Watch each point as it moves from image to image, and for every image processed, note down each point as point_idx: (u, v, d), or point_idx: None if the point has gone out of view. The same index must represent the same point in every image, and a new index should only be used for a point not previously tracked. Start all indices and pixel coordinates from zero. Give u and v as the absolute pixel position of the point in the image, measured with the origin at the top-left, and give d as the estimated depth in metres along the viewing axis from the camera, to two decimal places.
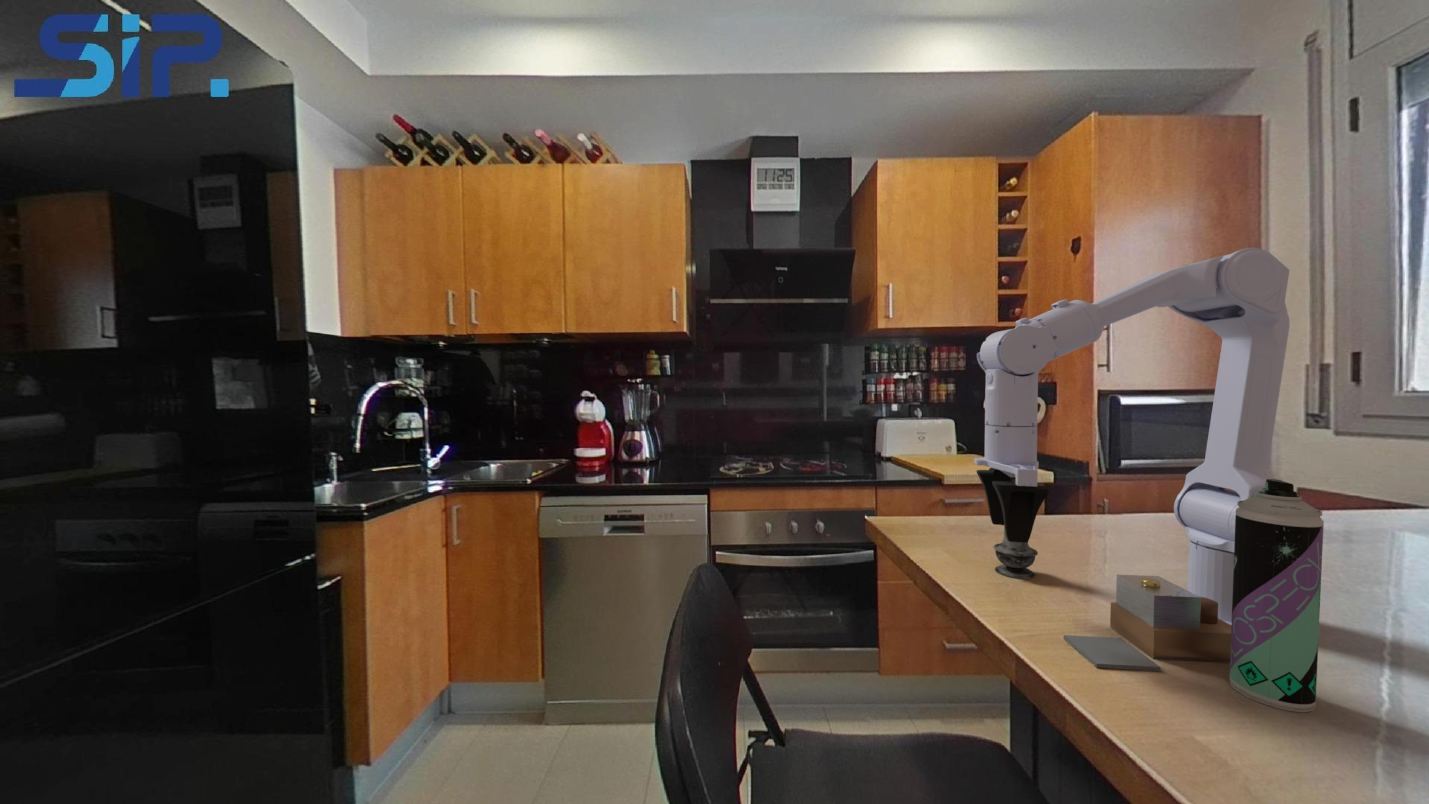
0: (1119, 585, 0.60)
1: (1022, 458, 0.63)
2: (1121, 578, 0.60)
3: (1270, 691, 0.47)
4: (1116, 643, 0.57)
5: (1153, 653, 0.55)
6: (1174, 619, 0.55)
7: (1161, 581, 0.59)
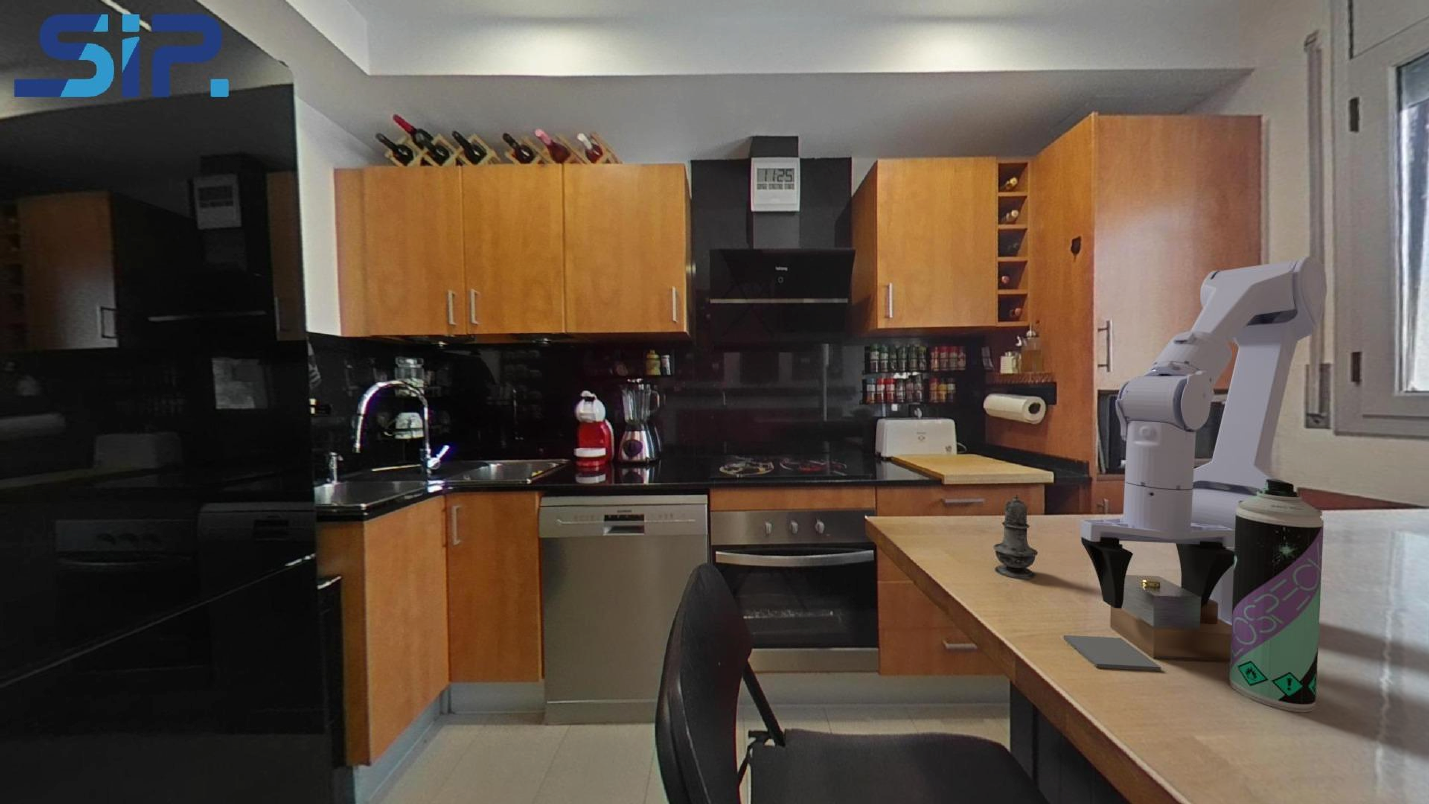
0: None
1: (1133, 519, 0.57)
2: None
3: (1270, 691, 0.47)
4: (1116, 643, 0.57)
5: (1153, 653, 0.55)
6: (1174, 619, 0.55)
7: (1161, 581, 0.59)
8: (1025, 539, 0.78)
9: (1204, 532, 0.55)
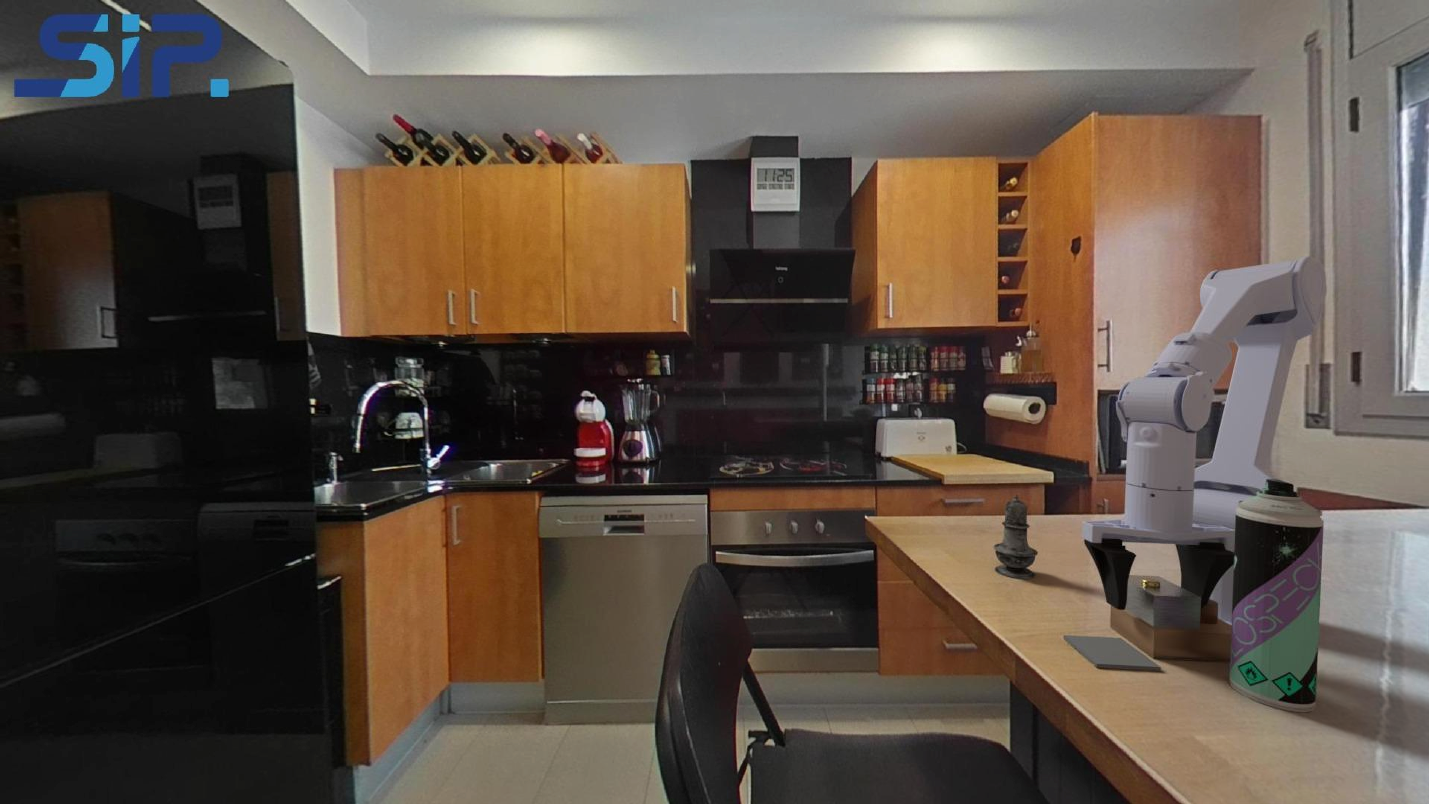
0: None
1: (1134, 520, 0.57)
2: None
3: (1270, 691, 0.47)
4: (1116, 643, 0.57)
5: (1153, 653, 0.55)
6: (1174, 619, 0.55)
7: (1161, 581, 0.59)
8: (1025, 539, 0.78)
9: (1205, 533, 0.55)
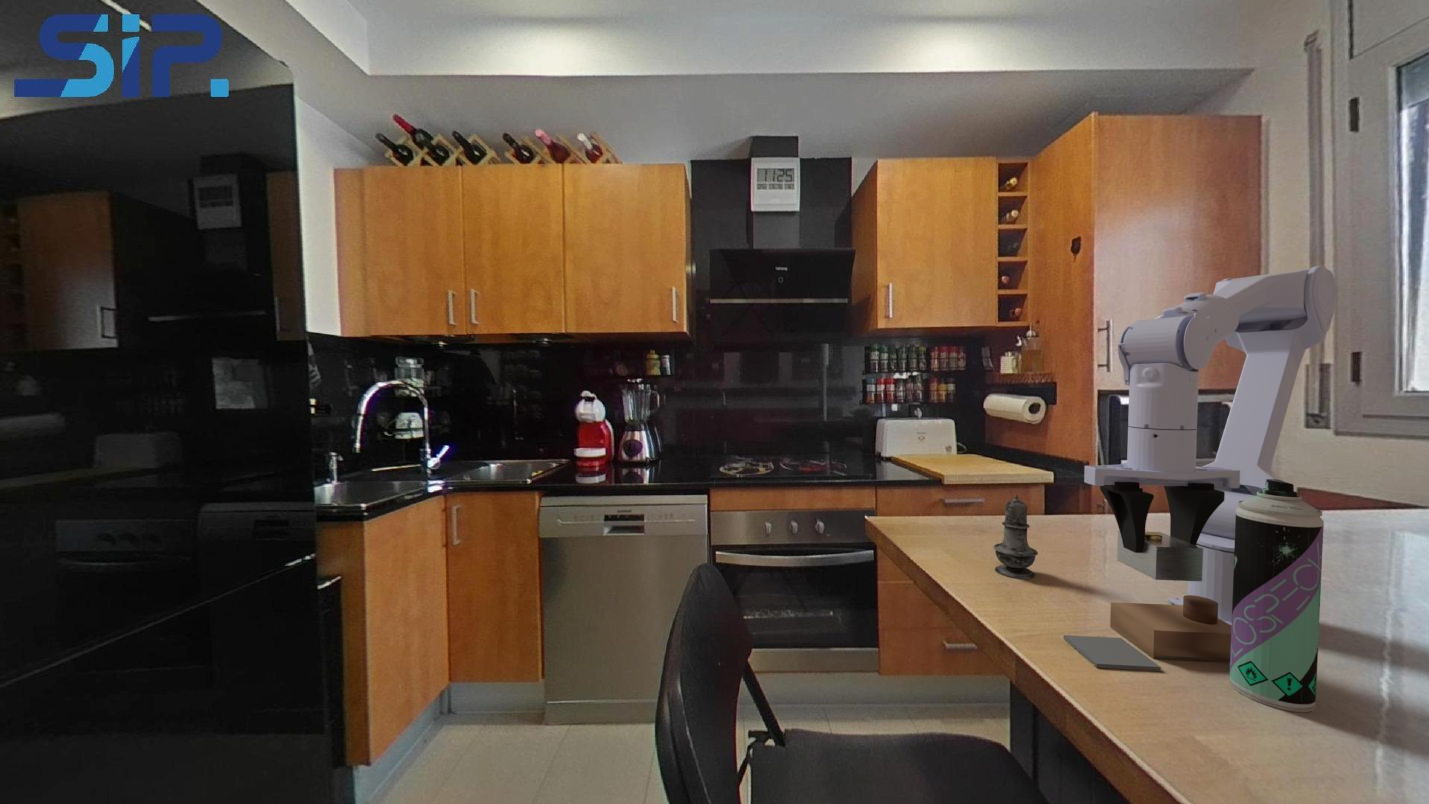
0: (1120, 540, 0.60)
1: (1137, 463, 0.57)
2: None
3: (1270, 691, 0.47)
4: (1116, 643, 0.57)
5: (1153, 653, 0.55)
6: (1177, 570, 0.54)
7: (1163, 536, 0.59)
8: (1025, 539, 0.78)
9: (1209, 472, 0.55)
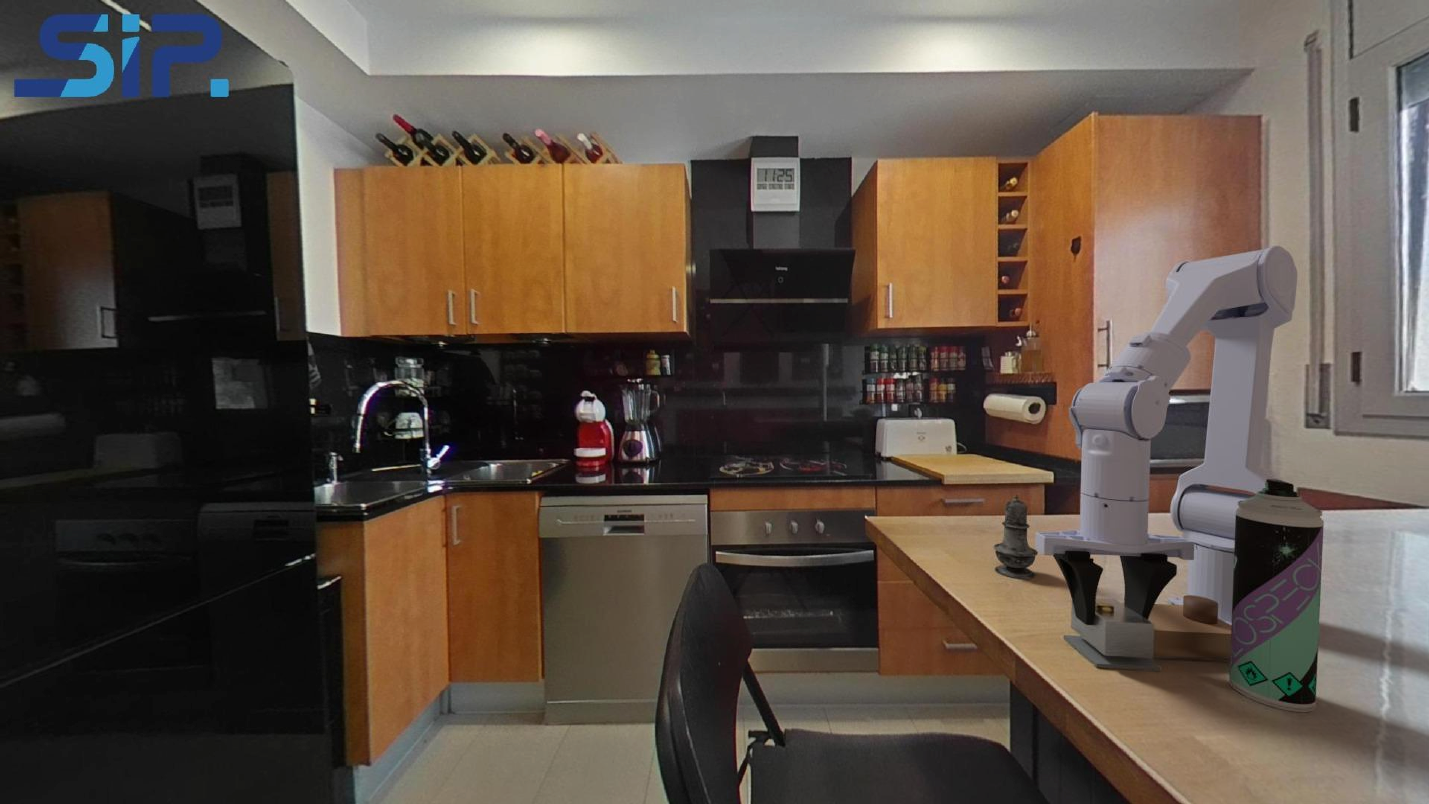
0: None
1: (1088, 532, 0.55)
2: None
3: (1270, 691, 0.47)
4: None
5: (1153, 653, 0.55)
6: (1127, 646, 0.52)
7: (1116, 605, 0.56)
8: (1025, 539, 0.78)
9: (1161, 545, 0.53)
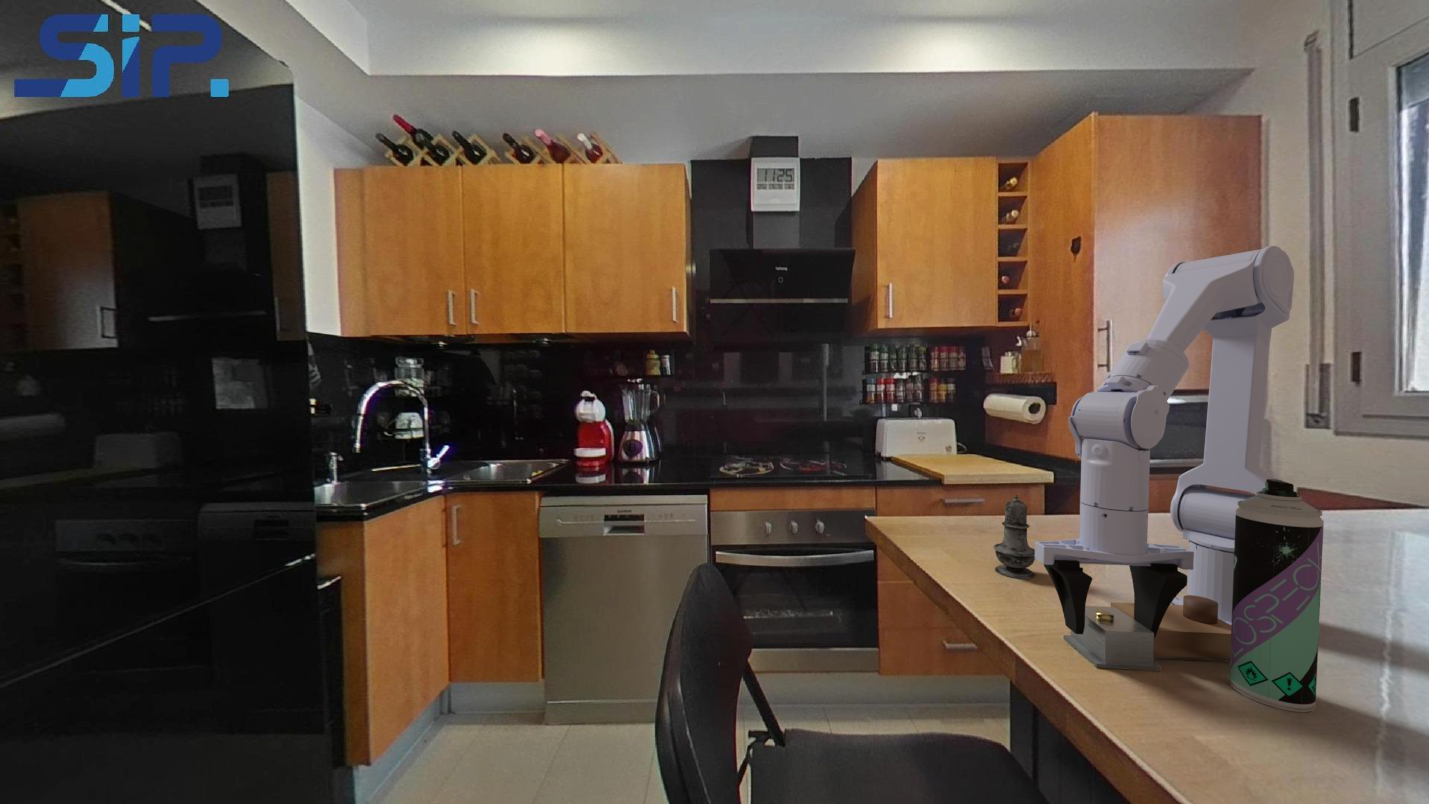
0: None
1: (1088, 541, 0.55)
2: None
3: (1270, 691, 0.47)
4: None
5: (1153, 653, 0.55)
6: (1127, 655, 0.53)
7: (1116, 613, 0.57)
8: (1025, 539, 0.78)
9: (1160, 555, 0.53)
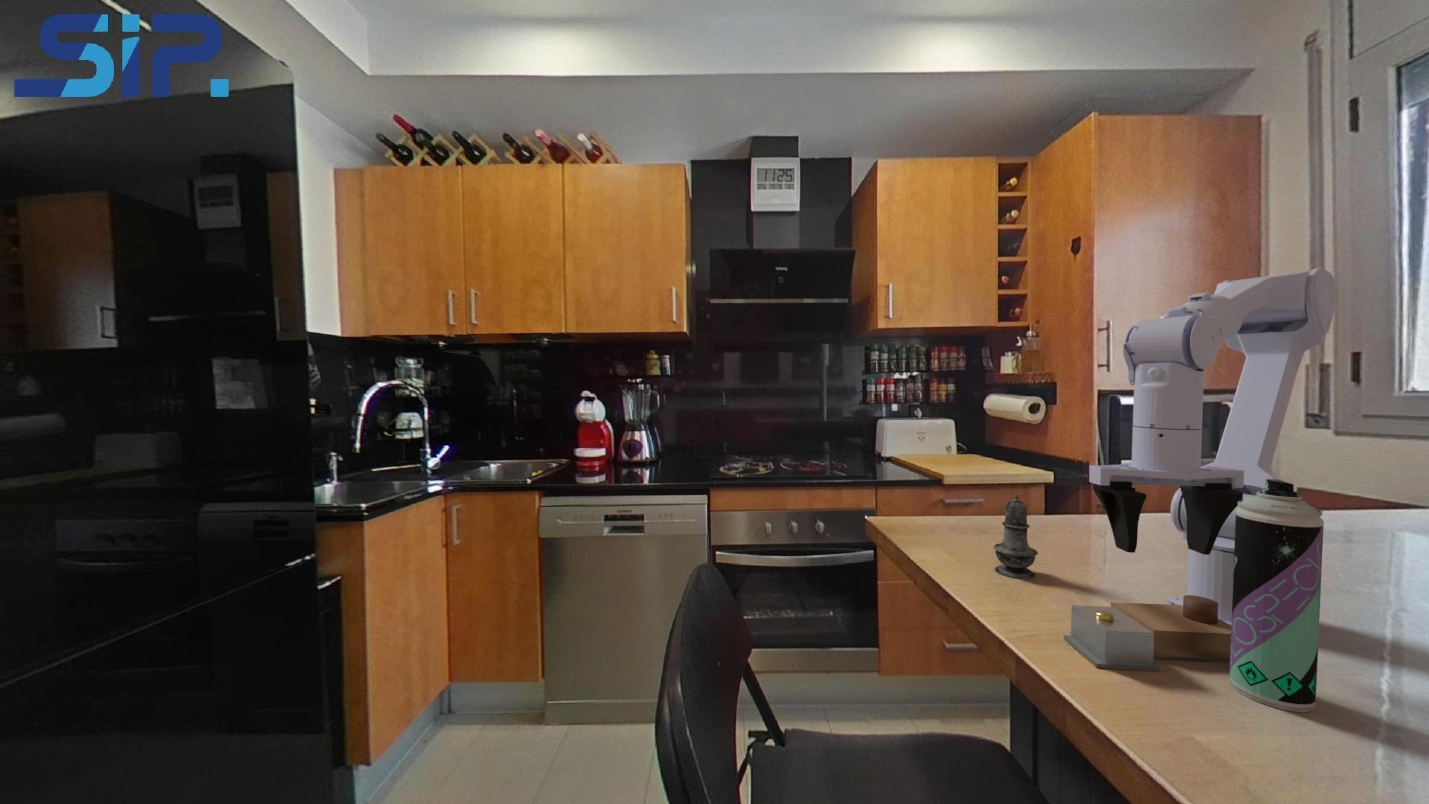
0: (1073, 616, 0.58)
1: (1142, 462, 0.57)
2: (1076, 609, 0.58)
3: (1270, 691, 0.47)
4: None
5: (1153, 653, 0.55)
6: (1127, 655, 0.53)
7: (1116, 613, 0.57)
8: (1025, 539, 0.78)
9: (1214, 472, 0.55)
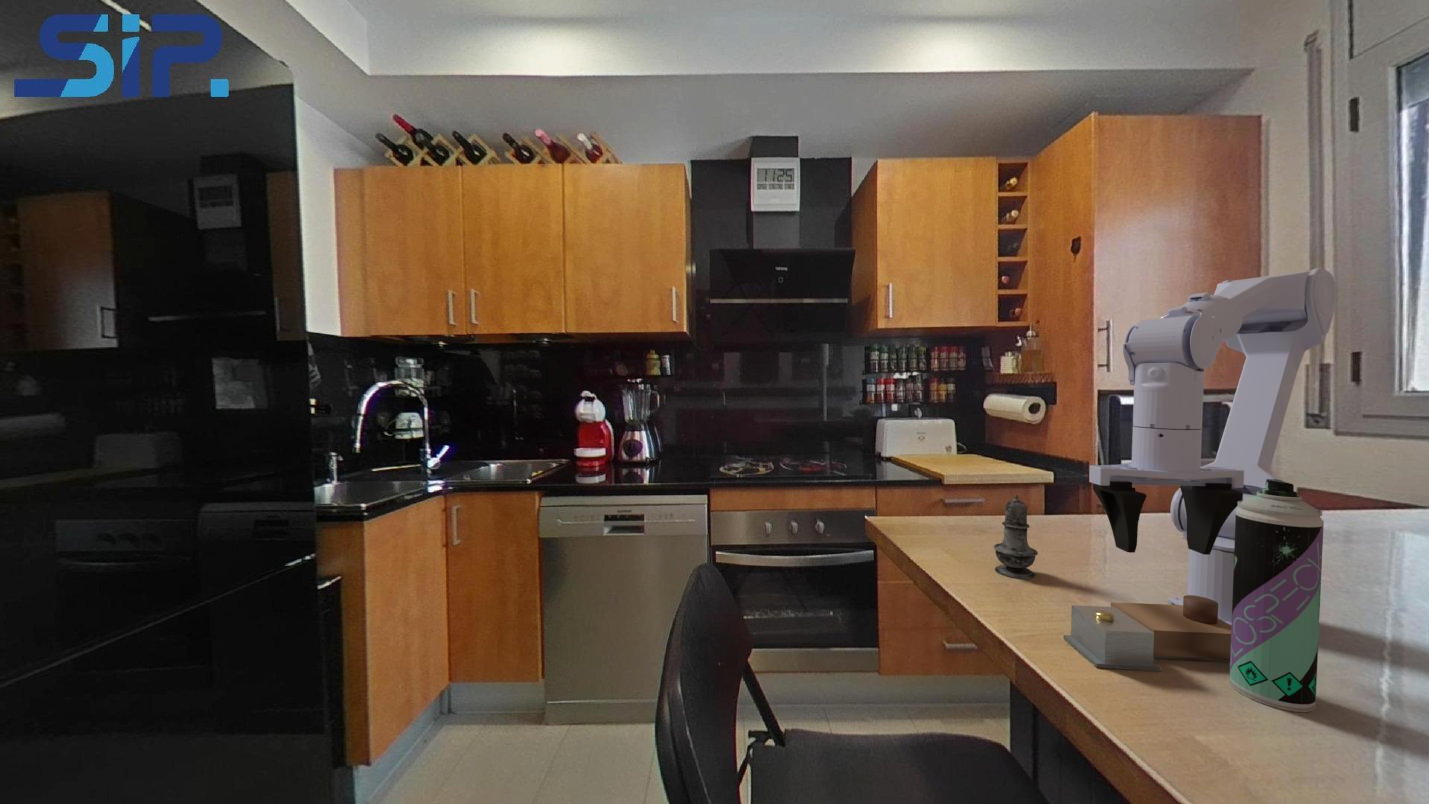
0: (1073, 616, 0.58)
1: (1142, 462, 0.57)
2: (1076, 609, 0.58)
3: (1270, 691, 0.47)
4: None
5: (1153, 653, 0.55)
6: (1127, 655, 0.53)
7: (1116, 613, 0.57)
8: (1025, 539, 0.78)
9: (1214, 472, 0.55)
